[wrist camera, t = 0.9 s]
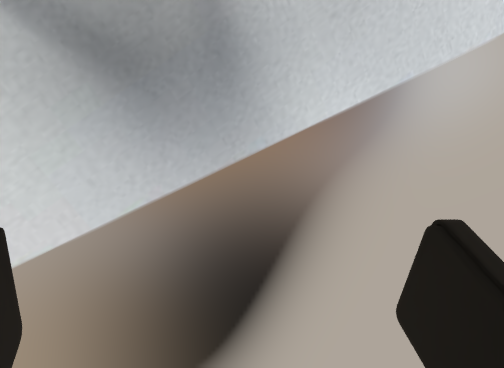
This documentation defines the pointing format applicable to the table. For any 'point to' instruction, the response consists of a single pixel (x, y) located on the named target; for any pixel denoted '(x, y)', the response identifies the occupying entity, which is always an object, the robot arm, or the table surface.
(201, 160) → the table surface
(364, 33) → the table surface
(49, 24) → the table surface
